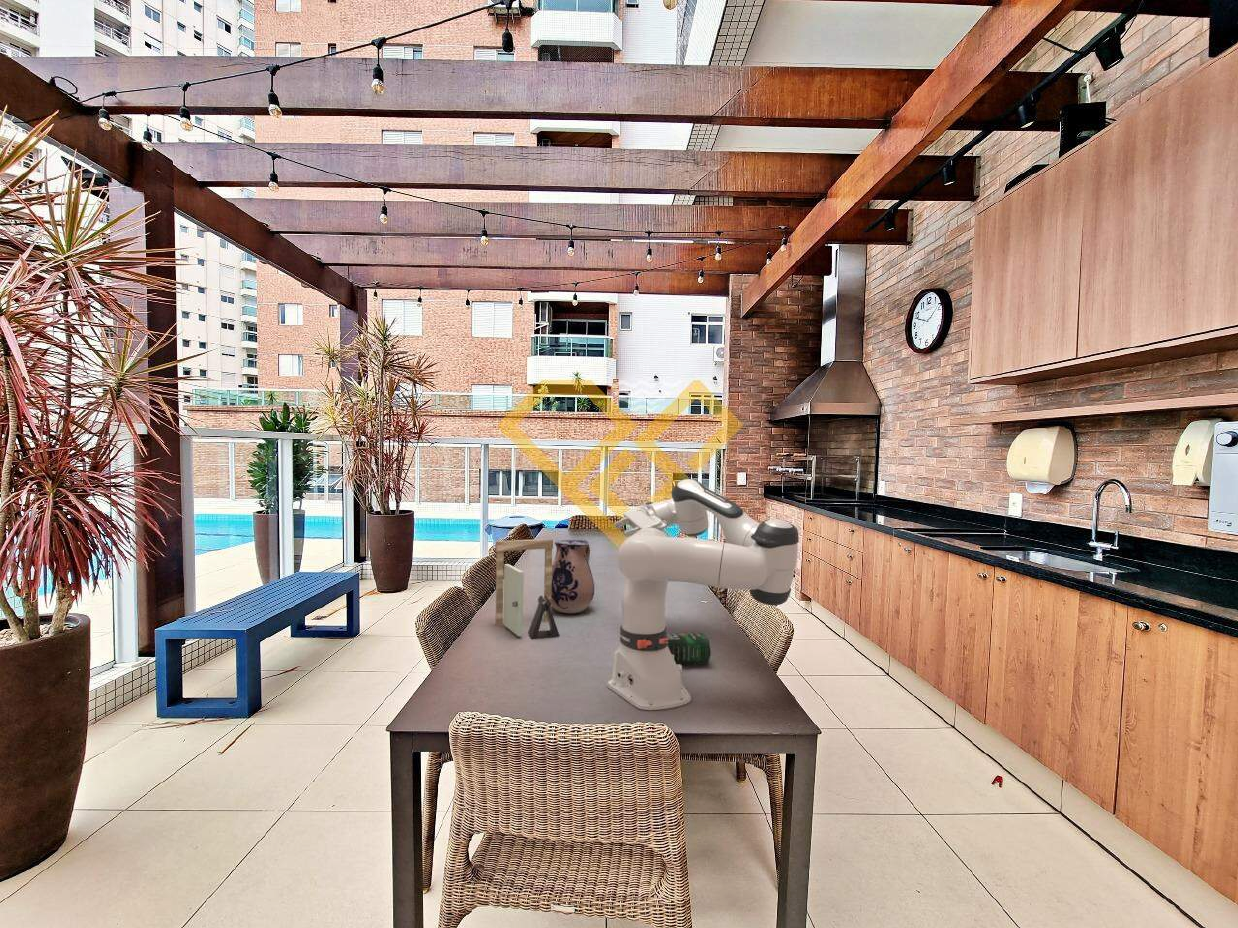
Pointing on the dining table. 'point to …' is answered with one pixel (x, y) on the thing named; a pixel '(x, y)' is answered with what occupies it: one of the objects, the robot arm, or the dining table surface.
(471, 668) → the dining table surface
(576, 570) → the ceramic pitcher
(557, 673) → the dining table surface
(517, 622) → the door
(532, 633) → the phone stand
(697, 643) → the coffee jar
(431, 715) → the dining table surface
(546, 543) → the door frame
